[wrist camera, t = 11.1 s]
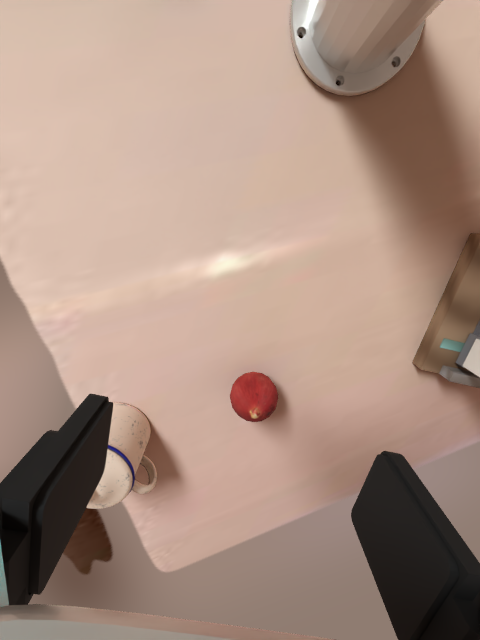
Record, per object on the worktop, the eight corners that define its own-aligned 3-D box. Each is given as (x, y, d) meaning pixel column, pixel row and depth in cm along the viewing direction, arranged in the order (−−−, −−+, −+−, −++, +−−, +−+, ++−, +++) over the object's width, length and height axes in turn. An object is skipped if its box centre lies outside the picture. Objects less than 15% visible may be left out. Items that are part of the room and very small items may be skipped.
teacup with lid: (75, 431, 44) (20, 503, 32) (111, 387, 42) (65, 448, 30) (145, 474, 46) (117, 555, 35) (182, 435, 44) (164, 507, 33)
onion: (282, 375, 41) (293, 410, 34) (258, 406, 43) (263, 447, 35) (246, 354, 40) (248, 385, 33) (222, 387, 42) (219, 424, 34)
